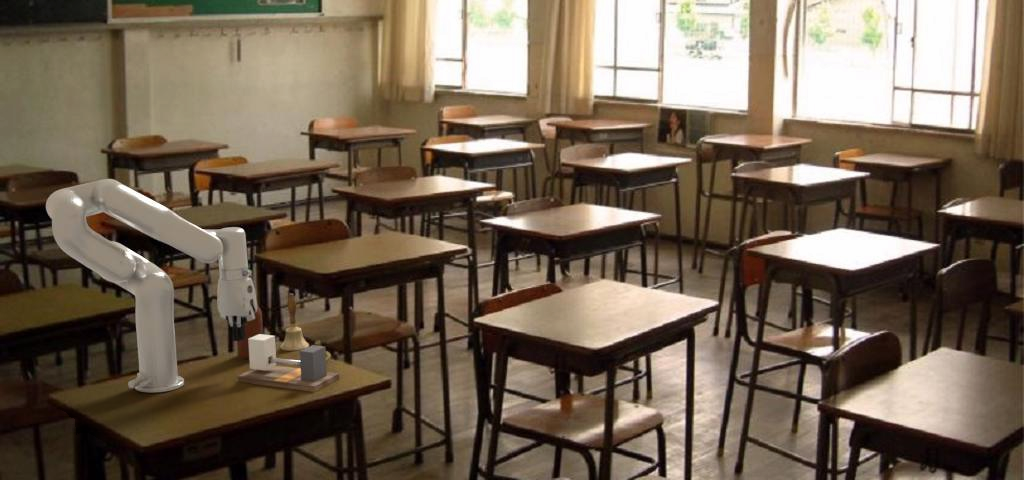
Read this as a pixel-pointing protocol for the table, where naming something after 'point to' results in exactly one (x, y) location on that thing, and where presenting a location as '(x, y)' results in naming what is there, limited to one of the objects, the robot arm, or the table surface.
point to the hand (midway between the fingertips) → (239, 339)
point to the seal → (328, 355)
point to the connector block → (313, 363)
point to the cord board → (286, 378)
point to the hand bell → (293, 330)
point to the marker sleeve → (261, 351)
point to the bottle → (250, 332)
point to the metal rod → (284, 361)
